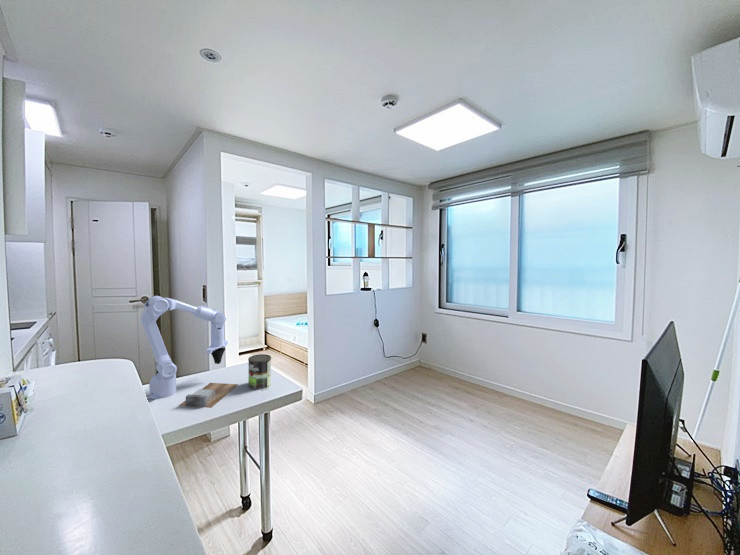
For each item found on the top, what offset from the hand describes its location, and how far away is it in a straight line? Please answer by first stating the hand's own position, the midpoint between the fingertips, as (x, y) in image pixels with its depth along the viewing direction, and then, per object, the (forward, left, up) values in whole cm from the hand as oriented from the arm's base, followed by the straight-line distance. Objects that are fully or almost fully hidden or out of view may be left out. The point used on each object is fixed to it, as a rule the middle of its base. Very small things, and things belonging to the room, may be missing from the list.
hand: (217, 363), depth 147 cm
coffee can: (+22, -2, -10) cm, 24 cm away
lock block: (+5, -20, -9) cm, 22 cm away
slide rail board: (+5, -14, -9) cm, 18 cm away
